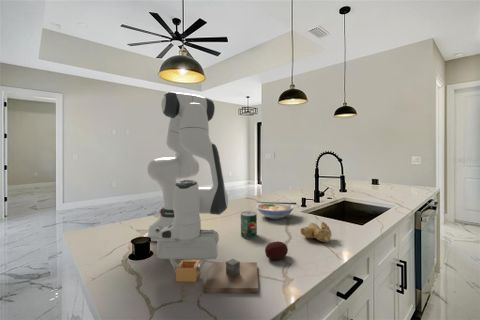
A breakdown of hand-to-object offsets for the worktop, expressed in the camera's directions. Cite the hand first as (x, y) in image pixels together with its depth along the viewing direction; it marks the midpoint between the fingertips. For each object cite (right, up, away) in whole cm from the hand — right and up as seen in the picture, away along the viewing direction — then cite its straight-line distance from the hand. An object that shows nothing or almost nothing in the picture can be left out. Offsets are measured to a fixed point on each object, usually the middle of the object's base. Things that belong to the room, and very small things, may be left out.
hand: (188, 270), depth 79 cm
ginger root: (+53, 0, +32) cm, 62 cm away
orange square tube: (0, -2, 0) cm, 2 cm away
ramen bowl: (+39, +1, +67) cm, 78 cm away
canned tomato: (+22, 0, +37) cm, 43 cm away
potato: (+32, -1, +13) cm, 34 cm away
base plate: (+15, -2, -2) cm, 15 cm away
